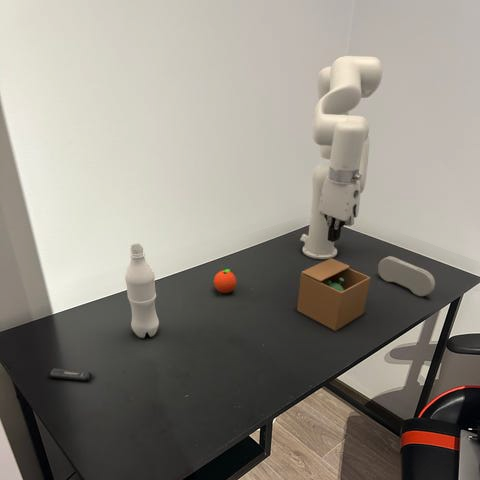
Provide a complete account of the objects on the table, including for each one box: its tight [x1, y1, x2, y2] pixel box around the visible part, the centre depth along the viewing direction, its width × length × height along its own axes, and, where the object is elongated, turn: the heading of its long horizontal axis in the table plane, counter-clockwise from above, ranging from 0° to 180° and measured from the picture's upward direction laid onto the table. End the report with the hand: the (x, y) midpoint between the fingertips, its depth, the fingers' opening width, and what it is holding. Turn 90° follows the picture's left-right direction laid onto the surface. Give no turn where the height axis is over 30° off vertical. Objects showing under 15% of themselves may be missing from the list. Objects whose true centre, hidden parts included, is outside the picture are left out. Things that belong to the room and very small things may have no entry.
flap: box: [301, 258, 351, 282], centre depth 127 cm, size 7×13×1 cm, turn 133°
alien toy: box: [326, 278, 344, 292], centre depth 129 cm, size 7×8×10 cm
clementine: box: [213, 268, 237, 294], centre depth 138 cm, size 8×7×7 cm
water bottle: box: [124, 243, 160, 339], centre depth 114 cm, size 7×7×25 cm
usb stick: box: [49, 367, 93, 382], centre depth 104 cm, size 10×3×2 cm, turn 83°
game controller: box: [377, 255, 436, 297], centre depth 143 cm, size 20×2×8 cm, turn 39°
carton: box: [296, 267, 372, 332], centre depth 128 cm, size 14×13×12 cm
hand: (333, 239), depth 126 cm, fingers closed
